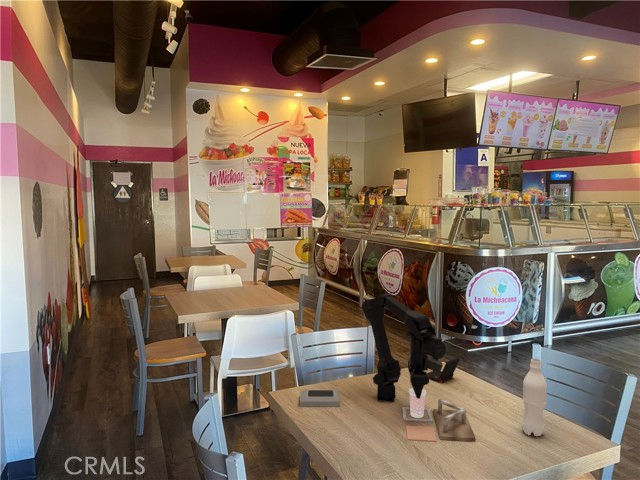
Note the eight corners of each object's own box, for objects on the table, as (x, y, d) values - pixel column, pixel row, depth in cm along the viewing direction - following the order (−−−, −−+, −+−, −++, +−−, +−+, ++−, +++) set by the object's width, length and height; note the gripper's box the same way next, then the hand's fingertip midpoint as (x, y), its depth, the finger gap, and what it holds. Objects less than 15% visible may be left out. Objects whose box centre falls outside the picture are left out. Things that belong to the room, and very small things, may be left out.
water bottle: (520, 435, 157) (523, 361, 154) (522, 426, 163) (525, 354, 161) (544, 440, 153) (547, 365, 151) (545, 431, 160) (548, 358, 157)
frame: (403, 420, 167) (403, 419, 167) (402, 408, 177) (402, 407, 177) (432, 422, 166) (432, 421, 166) (429, 409, 176) (429, 408, 176)
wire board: (440, 439, 154) (440, 421, 153) (433, 412, 174) (433, 395, 173) (475, 441, 153) (476, 423, 152) (464, 413, 172) (464, 397, 172)
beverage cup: (425, 419, 168) (426, 381, 167) (408, 418, 169) (408, 379, 168) (425, 412, 174) (426, 374, 173) (408, 410, 175) (409, 373, 174)
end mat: (407, 440, 154) (407, 438, 154) (405, 426, 163) (405, 425, 163) (436, 441, 153) (436, 440, 153) (432, 428, 162) (432, 427, 161)
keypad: (300, 388, 187) (338, 388, 187) (300, 397, 187) (338, 397, 188) (299, 398, 178) (340, 398, 178) (299, 408, 178) (339, 408, 178)
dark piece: (436, 372, 213) (436, 350, 212) (459, 380, 204) (460, 357, 203) (423, 377, 207) (423, 355, 206) (447, 386, 198) (447, 362, 197)
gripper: (445, 360, 159) (443, 405, 161) (438, 343, 178) (437, 383, 179) (411, 359, 160) (410, 403, 162) (407, 342, 179) (406, 382, 180)
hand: (417, 393), depth 171 cm, fingers open, 9 cm apart
